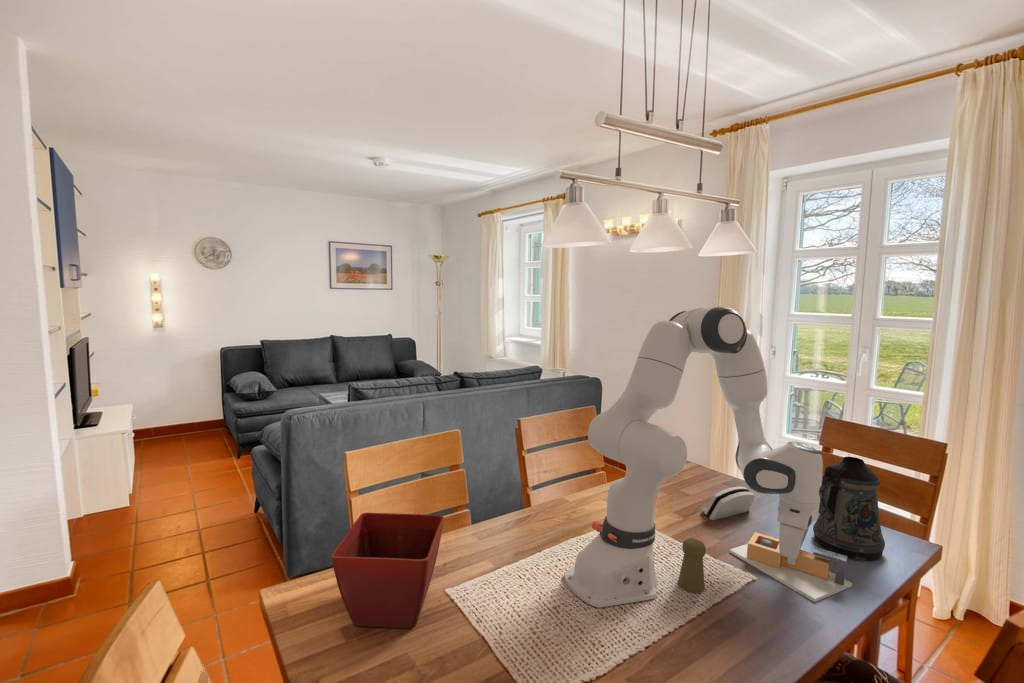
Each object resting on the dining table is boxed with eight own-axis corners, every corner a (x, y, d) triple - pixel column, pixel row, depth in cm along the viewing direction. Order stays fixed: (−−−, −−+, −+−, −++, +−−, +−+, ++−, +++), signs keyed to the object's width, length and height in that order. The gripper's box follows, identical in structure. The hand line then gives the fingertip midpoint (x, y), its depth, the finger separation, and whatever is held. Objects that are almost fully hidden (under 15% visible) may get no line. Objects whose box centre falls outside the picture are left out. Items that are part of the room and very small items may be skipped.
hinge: (736, 504, 162) (747, 480, 158) (747, 514, 159) (759, 490, 155) (699, 513, 155) (710, 488, 151) (710, 524, 151) (721, 499, 147)
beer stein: (891, 549, 136) (902, 462, 134) (868, 573, 124) (879, 478, 122) (825, 525, 149) (833, 445, 146) (797, 545, 137) (806, 458, 134)
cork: (672, 580, 119) (675, 537, 118) (691, 575, 121) (695, 533, 120) (690, 595, 113) (693, 550, 112) (710, 589, 116) (714, 545, 115)
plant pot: (362, 579, 116) (362, 511, 114) (443, 583, 115) (444, 514, 114) (330, 637, 97) (329, 556, 95) (427, 642, 96) (427, 560, 95)
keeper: (811, 578, 122) (813, 551, 121) (812, 572, 124) (815, 546, 123) (843, 588, 118) (846, 561, 117) (844, 583, 120) (847, 556, 119)
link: (746, 557, 129) (747, 543, 128) (753, 546, 134) (754, 532, 134) (826, 583, 118) (827, 568, 117) (829, 569, 124) (831, 554, 123)
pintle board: (814, 602, 112) (816, 581, 112) (729, 552, 133) (731, 534, 132) (851, 586, 119) (854, 566, 118) (765, 540, 139) (766, 524, 139)
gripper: (791, 490, 134) (786, 539, 135) (776, 517, 118) (770, 572, 119) (818, 497, 130) (813, 547, 131) (806, 526, 114) (800, 582, 115)
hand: (792, 559), depth 125 cm, fingers closed on link, 3 cm apart
